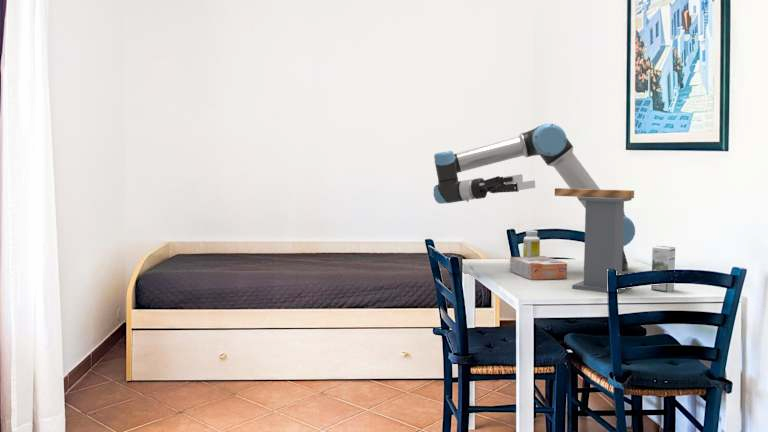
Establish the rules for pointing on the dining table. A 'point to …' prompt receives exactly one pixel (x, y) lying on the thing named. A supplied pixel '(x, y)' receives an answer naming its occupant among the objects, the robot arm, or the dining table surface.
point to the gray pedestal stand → (602, 241)
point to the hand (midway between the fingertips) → (528, 181)
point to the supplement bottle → (531, 244)
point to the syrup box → (663, 264)
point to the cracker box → (538, 267)
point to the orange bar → (594, 193)
